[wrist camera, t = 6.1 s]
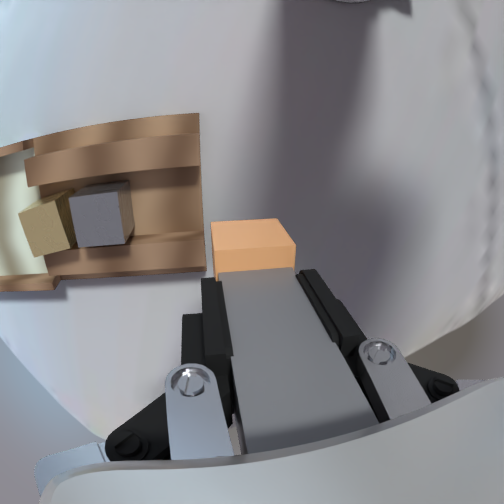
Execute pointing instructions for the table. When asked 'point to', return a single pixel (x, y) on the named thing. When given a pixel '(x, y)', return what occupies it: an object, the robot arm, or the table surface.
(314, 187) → the table surface
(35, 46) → the table surface
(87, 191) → the dark gray cube
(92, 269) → the slot board
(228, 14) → the table surface
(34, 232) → the tan yellow cube
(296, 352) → the gray orange block
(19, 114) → the table surface
